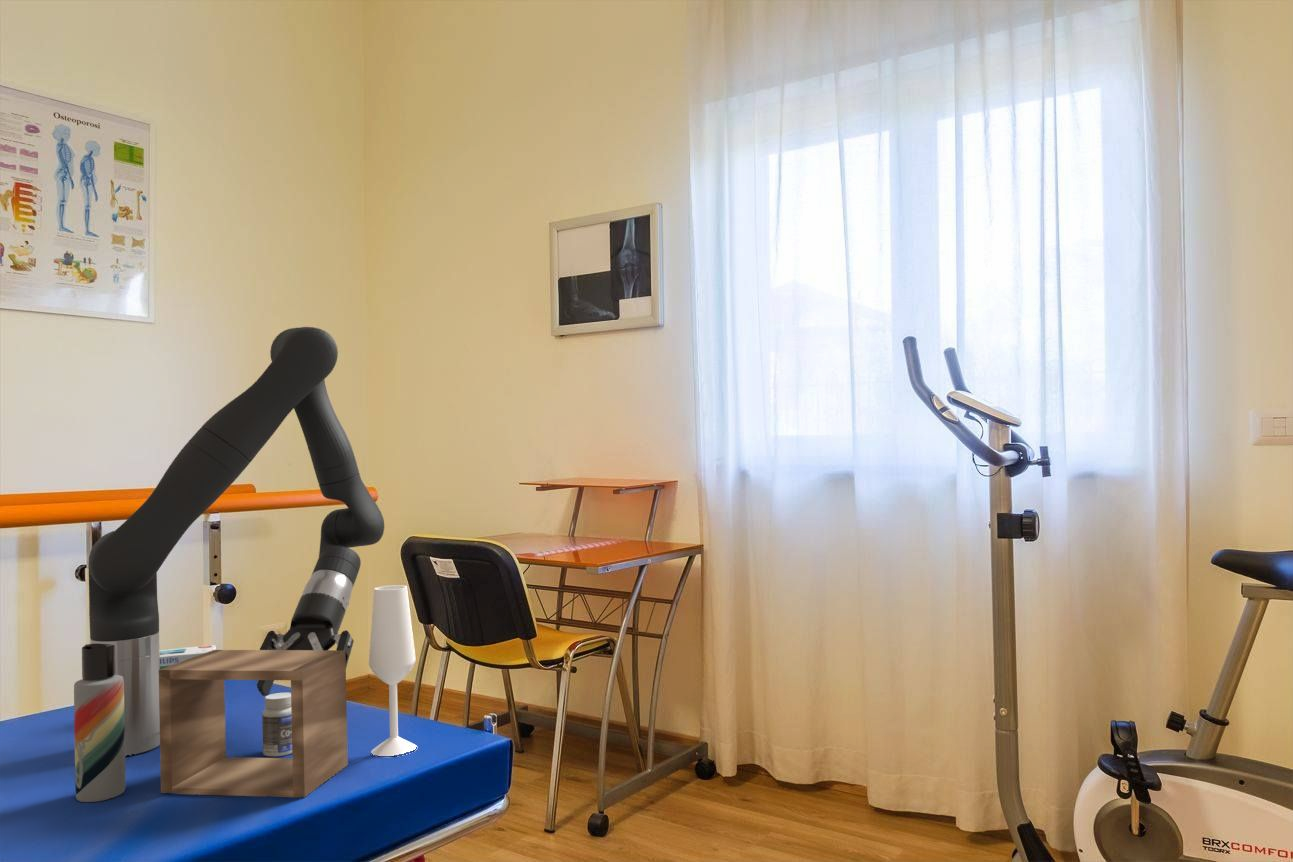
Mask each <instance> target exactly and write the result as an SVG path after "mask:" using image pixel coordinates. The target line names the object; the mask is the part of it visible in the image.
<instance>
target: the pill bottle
mask: <svg viewBox="0 0 1293 862" xmlns="http://www.w3.org/2000/svg"><path fill="white" fill-rule="evenodd" d="M264 707H265V708H264V710H263V711H262V714H261V718H262V719H261V721H262V723H261V724H262V726H261V729H262V754H263V755H264V756H266V757H271V758H278V757H284V756H287V755H291V754H292V715H291V692H287V691H286V692H275V693H270V694H268V696H265V697H264Z"/></svg>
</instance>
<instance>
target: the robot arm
mask: <svg viewBox="0 0 1293 862" xmlns="http://www.w3.org/2000/svg"><path fill="white" fill-rule="evenodd" d="M269 351H270V352H269V353H270V361H271V362H270V363H269V364H268V366H267V368H266V369H265V370H264V371H263V372H262V374H261V375H260V376H259V377H258V378H257V379H256V380H255V382H254V383H252V385H251V386H249V387H248V388H247V389H246V390H245V391H243V392H241V393H240V394H239V395H238V396H236V397H235V398H233V399H232V400H231V401H229V402H228V403H226V405H224V406H223V407H222V408H220V409H219V410H218V411H216V412H215V413H214V414H213V415H211V417H210V418H209V419H208V420H206V422H204V424H203V425H201V427H200V428H199V429H198V430H197V431H196V432H195V433H194V435H193V436H192V437H191V438H190V439H189V440H188V442H186V444H184V446H183V447H182V449H180V451H179V452H178V454H177V455H176V456H175V458H174V459H173V460H172V462H171V463H170V465H169V466H168V468H167V469H166V470H165V473H164V474H163V475H162V477H161V479H160V480H159V482H158V483H157V485H156V487H155V488H154V489H153V490H152V492H151V494H150V495H149V497H148V498H147V499H146V500H145V501H144V502H143V503H142V504H141V505H140V506H139V508H137V510H135V511H134V512H133V514H131V515H130V516H129V517H128V518H127V519H126V520H125V521H124V522H123V523H122V524H120V526H119V527H117V528H116V529H115V530H112V531H110V532H108V533H105V534H104V535H102V536H101V537H100V538H99V539H97V541H96V542H95V543H94V544H93V545H92V547H91V549H90V552H89V554H88V565H87V566H88V600H89V601H88V606H89V607H88V609H89V610H88V616H89V617H88V618H89V641H90V643H89V644H109V645H115V665H116V674H115V675H120V676H122V677H123V679H124V715H125V757H126V756H127V755H129V756H133V755H132V754H134V755H137V754H141V753H145V752H149V751H151V750H154V749H156V748H157V747H158V746H159V747H160V713H159V670H160V651H159V650H160V613H159V604H158V602H159V601H158V572H159V570H160V568H161V566H163V564H164V562H165V561H166V559H167V558H168V557H169V555H170V554H171V552H172V550H174V548H175V546H176V545H177V544H178V542H179V541H180V540H181V538H182V537H183V535H184V534H185V533H186V531H187V530H188V529H189V528H190V527H191V526H192V525H193V524H194V522H195V521H197V519H199V518H200V516H201V515H203V514H204V513H205V512H206V511H207V510H208V509H209V508H210V507H212V505H213V504H214V503H215V502H216V501H217V500H219V498H220V497H221V496H222V495H223V494H224V493H225V492H226V491H227V490H228V489H229V487H230V486H231V485H232V484H234V482H235V481H236V480H237V479H238V478H239V476H240V475H241V474H242V473H243V472H244V471H245V469H246V468H247V467H248V466H249V465H250V463H252V461H253V459H254V458H256V456H257V454H259V452H260V451H261V450H262V448H263V447H264V446H266V444H267V442H268V441H269V440H270V439H271V437H273V435H274V434H275V433H276V431H277V430H278V429H279V427H280V426H281V424H282V423H283V422H284V421H285V419H286V418H287V417H288V416H289V414H290V413H291V412H292V411H293V410H294V412H295V414H296V417H297V419H298V422H299V425H300V428H301V431H302V433H303V437H304V440H305V443H306V446H307V448H308V449H307V450H308V453H309V456H310V459H311V463H312V466H313V467H312V468H313V469H314V473H315V476H316V479H317V483H318V487H319V489H320V492H321V495H322V496H323V497H324V498H325V499H328V500H333V501H334V500H335V501H339V502H341V503H343V504H345V505H346V507H347V508H345V507H344V508H339V509H335V510H331V512H329V513H328V514H327V515H326V516H325V518H324V519H323V520H322V522H321V523H322V524H321V527H320V541H319V552H318V559H317V561H316V563H315V565H314V569H313V571H312V573H311V575H310V578H309V579H308V581H307V583H306V584H305V586H304V589H303V590H302V594H301V596H300V597H299V601H298V602H297V605H296V607H295V610H294V613H293V615H292V617H291V621H290V626H289V629H288V631H286V632H285V634H279V633H278V634H277V633H276V631H274V630H270V631H268V632H267V634H266V635H265V638H264V639H263V642H262V644H261V645H260V648H259V650H330V649H331V648H333V647H334V646H335V645H336V649H335V650H345V656H346V668H347V667H348V663H349V659H350V656H351V653H352V648H353V646H354V645H353V644H354V642H355V641H354V639H353V637H352V635H351V633H350V632H349V630H346V629H345V630H343V631H342V632H340V634H339V631H340V628H341V626H342V622H343V620H344V618H345V615H346V612H347V610H348V606H349V604H350V601H351V597H352V592H353V588H354V585H355V583H356V580H357V577H358V574H359V571H360V569H361V561H362V560H361V557H360V556H359V554H358V553H357V552H356V551H355V550H353V549H351V548H357V547H365V546H371V545H375V544H377V543H378V542H380V540H381V539H382V537H383V535H384V533H385V532H384V531H385V520H384V516H383V513H382V511H381V510H380V508H379V506H378V505H377V502H375V500H374V498H373V496H372V495H371V493H370V491H369V490H368V488H367V486H366V485H365V484H364V482H363V480H362V477H361V474H360V470H359V468H358V467H359V466H358V463H357V460H356V457H355V453H354V450H353V447H352V445H351V442H350V440H349V438H348V435H347V434H346V432H345V431H346V430H345V429H344V428H343V426H342V424H341V421H340V420H339V419H338V417H337V414H336V412H335V410H334V408H333V405H332V402H331V399H330V397H329V393H328V390H327V387H326V383H325V382H326V381H325V379H327V377H328V376H329V375H330V374H331V373H332V372H333V370H334V369H335V366H336V364H337V361H338V353H339V352H338V351H339V350H338V345H337V342H336V340H335V339H334V337H333V336H332V335H331V334H330V333H329V332H327V331H326V330H324V329H321V328H318V327H314V326H313V327H312V326H302V327H294V328H293V327H292V328H287V329H285V330H283V331H281V332H279V333H278V335H276V336H275V338H274V340H273V341H272V343H271V346H270V349H269ZM274 682H275V680H257V684H256V688H257V689H258V690H257V691H258V692H259V693H260V695H261V696H265V697H266V696H268V695H270V692H271V689H272V687H273V684H274ZM127 757H128V756H127Z"/></svg>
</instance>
